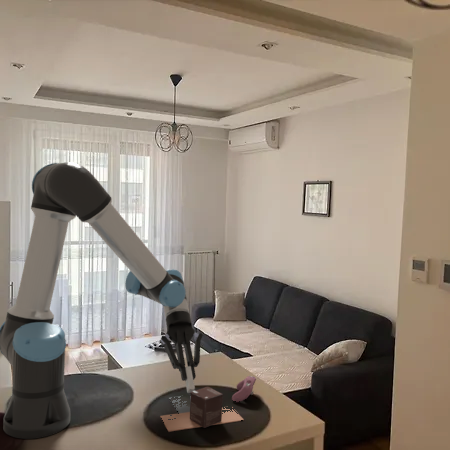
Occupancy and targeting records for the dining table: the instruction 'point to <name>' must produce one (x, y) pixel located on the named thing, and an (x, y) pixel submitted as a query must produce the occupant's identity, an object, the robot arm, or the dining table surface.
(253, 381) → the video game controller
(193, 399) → the box
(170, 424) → the t mat
